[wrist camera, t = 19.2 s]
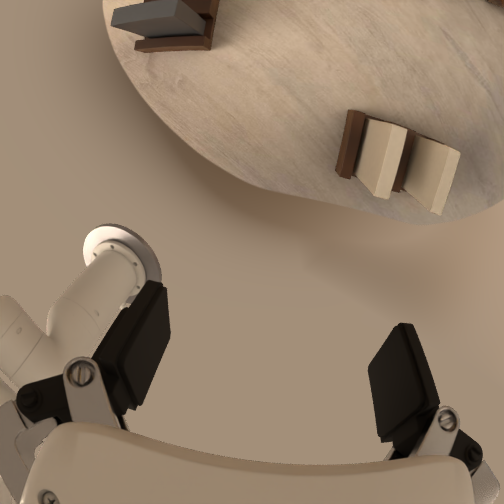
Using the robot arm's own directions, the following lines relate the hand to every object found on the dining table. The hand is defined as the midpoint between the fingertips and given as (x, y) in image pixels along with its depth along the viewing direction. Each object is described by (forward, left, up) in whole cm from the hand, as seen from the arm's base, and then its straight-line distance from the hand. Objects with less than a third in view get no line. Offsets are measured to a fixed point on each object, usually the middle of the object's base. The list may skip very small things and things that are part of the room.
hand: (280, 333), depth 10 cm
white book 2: (+5, -18, -29) cm, 35 cm away
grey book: (+18, +17, -29) cm, 39 cm away
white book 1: (+5, -10, -29) cm, 31 cm away
